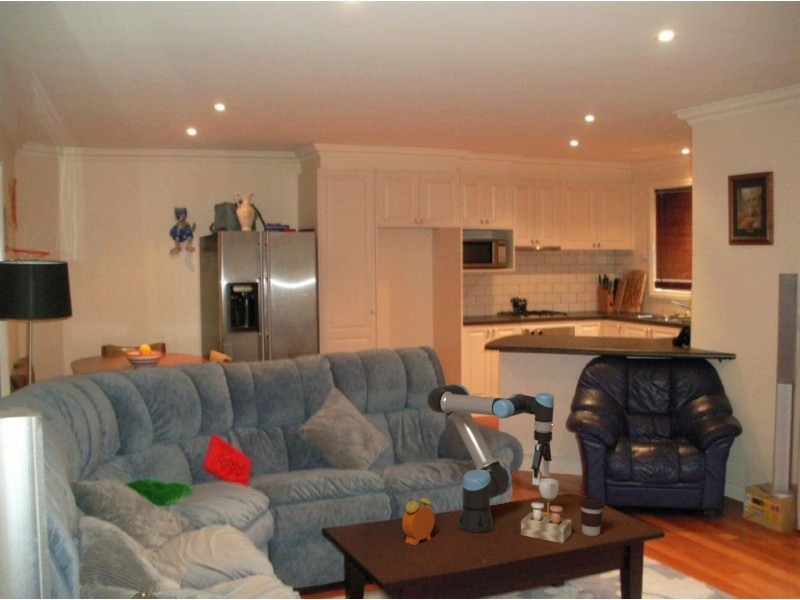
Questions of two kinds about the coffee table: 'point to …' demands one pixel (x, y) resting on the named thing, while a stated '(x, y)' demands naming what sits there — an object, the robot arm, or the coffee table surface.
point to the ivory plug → (537, 510)
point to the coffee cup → (591, 515)
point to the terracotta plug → (556, 514)
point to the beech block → (546, 528)
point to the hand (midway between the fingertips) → (540, 480)
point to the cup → (548, 491)
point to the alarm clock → (418, 521)
